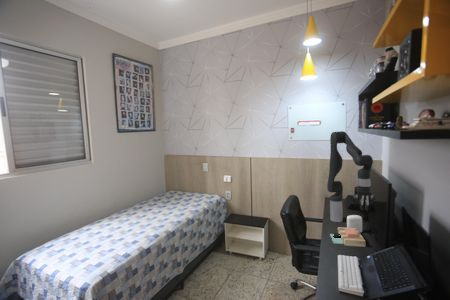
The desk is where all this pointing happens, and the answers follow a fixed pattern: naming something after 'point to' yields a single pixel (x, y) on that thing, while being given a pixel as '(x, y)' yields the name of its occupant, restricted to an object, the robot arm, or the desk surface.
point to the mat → (336, 240)
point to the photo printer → (354, 222)
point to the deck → (351, 238)
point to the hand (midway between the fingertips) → (364, 210)
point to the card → (350, 232)
